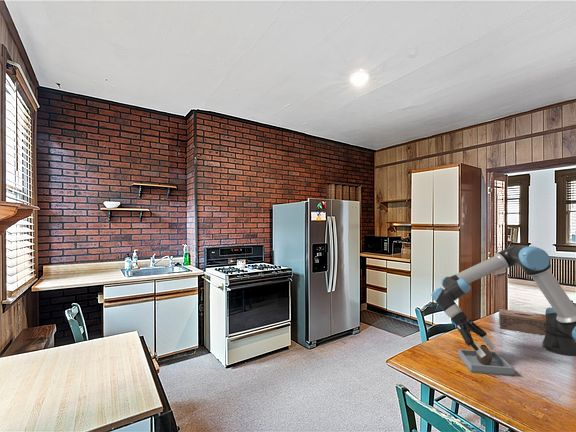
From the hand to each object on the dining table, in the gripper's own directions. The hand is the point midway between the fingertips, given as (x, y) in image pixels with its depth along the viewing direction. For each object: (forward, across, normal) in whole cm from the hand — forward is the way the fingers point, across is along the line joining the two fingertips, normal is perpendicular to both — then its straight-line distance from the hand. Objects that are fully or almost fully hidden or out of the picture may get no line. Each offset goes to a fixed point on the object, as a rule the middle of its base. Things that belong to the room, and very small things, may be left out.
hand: (489, 352), depth 147 cm
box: (+3, 0, -7) cm, 8 cm away
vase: (+3, 0, -6) cm, 7 cm away
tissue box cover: (+2, -75, -8) cm, 76 cm away
